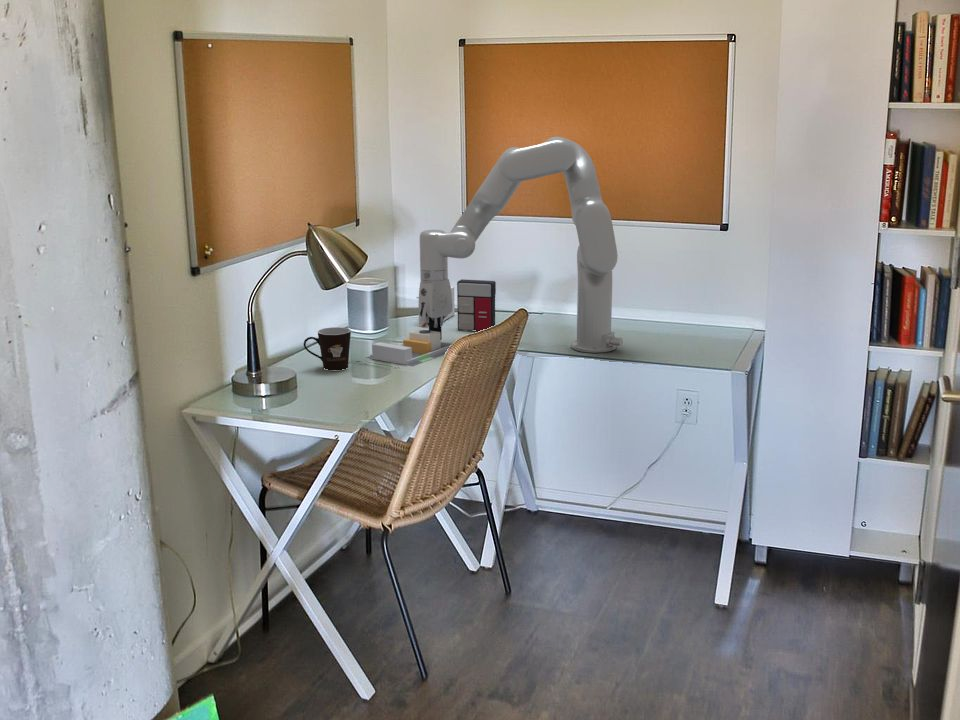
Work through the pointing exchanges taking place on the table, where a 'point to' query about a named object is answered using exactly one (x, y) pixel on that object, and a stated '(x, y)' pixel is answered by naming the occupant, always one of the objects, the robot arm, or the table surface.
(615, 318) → the table surface
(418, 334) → the block
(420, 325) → the cigarette display
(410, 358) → the board
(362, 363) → the table surface
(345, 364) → the coffee mug
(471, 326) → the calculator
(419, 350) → the orange rectangular block
